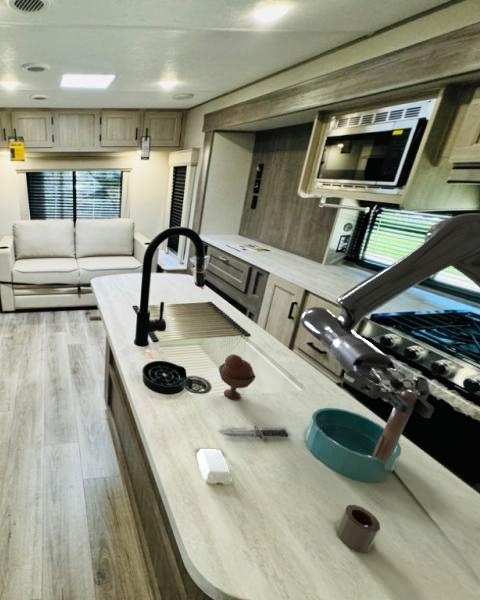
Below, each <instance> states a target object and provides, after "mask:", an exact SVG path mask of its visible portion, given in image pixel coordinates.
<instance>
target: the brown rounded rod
mask: <svg viewBox="0 0 480 600" xmlns="http://www.w3.org/2000/svg"><path fill="white" fill-rule="evenodd" d="M400 394H401V395H402V396H403V397H404V398H405V399H407V400H408V401H409V402H410V403H411V404H412V405H413V407H414V406H415V403H416V401H417V395H416V394H415V393H414V392H412V391H409V390H404V391H402V392H400ZM409 418H410V416H407V415H403V414H402V413H401V412H399V411H398V410H396V409H395V408H394V407H393V408H392V410H391V412H390V415H389V417H388V419H387V422H386V424H385V426H384V428H385V429H384V431H383V433H382V435H381V436H380V439H379V441H378V443H377V446H376V448H375V450H374V453H373V456H374V457H376V458H377V459H378V460H380V461H382V462H387V461H389V460H390V459H391V457H392V454H393V452H394V450H395V448H396V446H397V444H398V443H399V442H400V438H401V436H402V433H403V431H404V429H405V427H406V425H407V424H408V422H409Z"/></svg>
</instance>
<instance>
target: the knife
mask: <svg viewBox="0 0 480 600" xmlns="http://www.w3.org/2000/svg"><path fill="white" fill-rule="evenodd" d="M253 428H254V429H234V430H229V431H222V432H221V434H222V435H226V436H229V437H259V439H261V440H262V441H265V440H266V437H285V438H287V437H289V433H288V432H287V430H286V429H285V428H282V429H281V428H280V429H260V428H258V426H257V425H254V427H253Z"/></svg>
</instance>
